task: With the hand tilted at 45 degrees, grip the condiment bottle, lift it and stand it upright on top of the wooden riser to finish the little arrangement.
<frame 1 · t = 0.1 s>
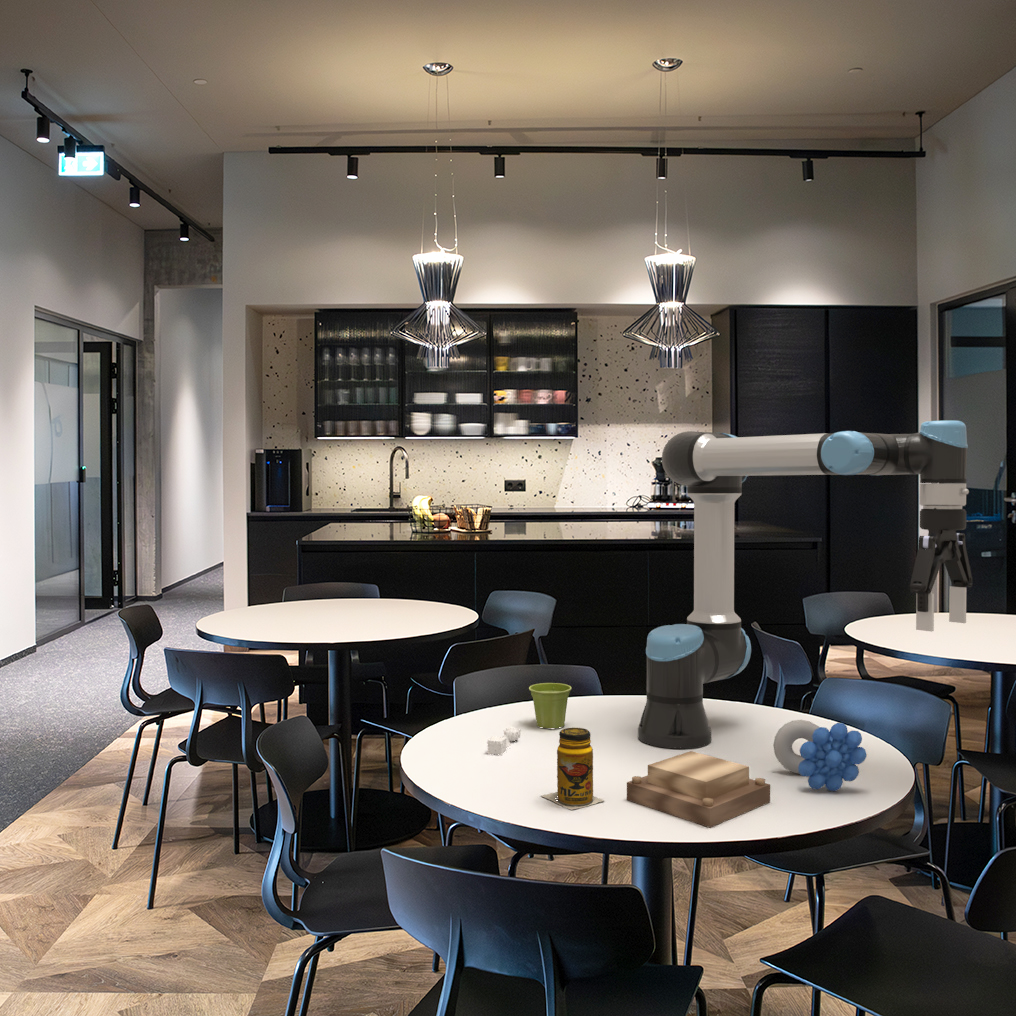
hand: (941, 626, 164), 28 cm above the table, tool pointing down, fingers open, 13 cm apart
plant pot: (550, 727, 203), on the table
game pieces: (504, 749, 187), on the table
wooden riser: (698, 800, 155), on the table
condiment: (572, 800, 156), on the table
grapes: (830, 790, 160), on the table
donut: (801, 774, 169), on the table
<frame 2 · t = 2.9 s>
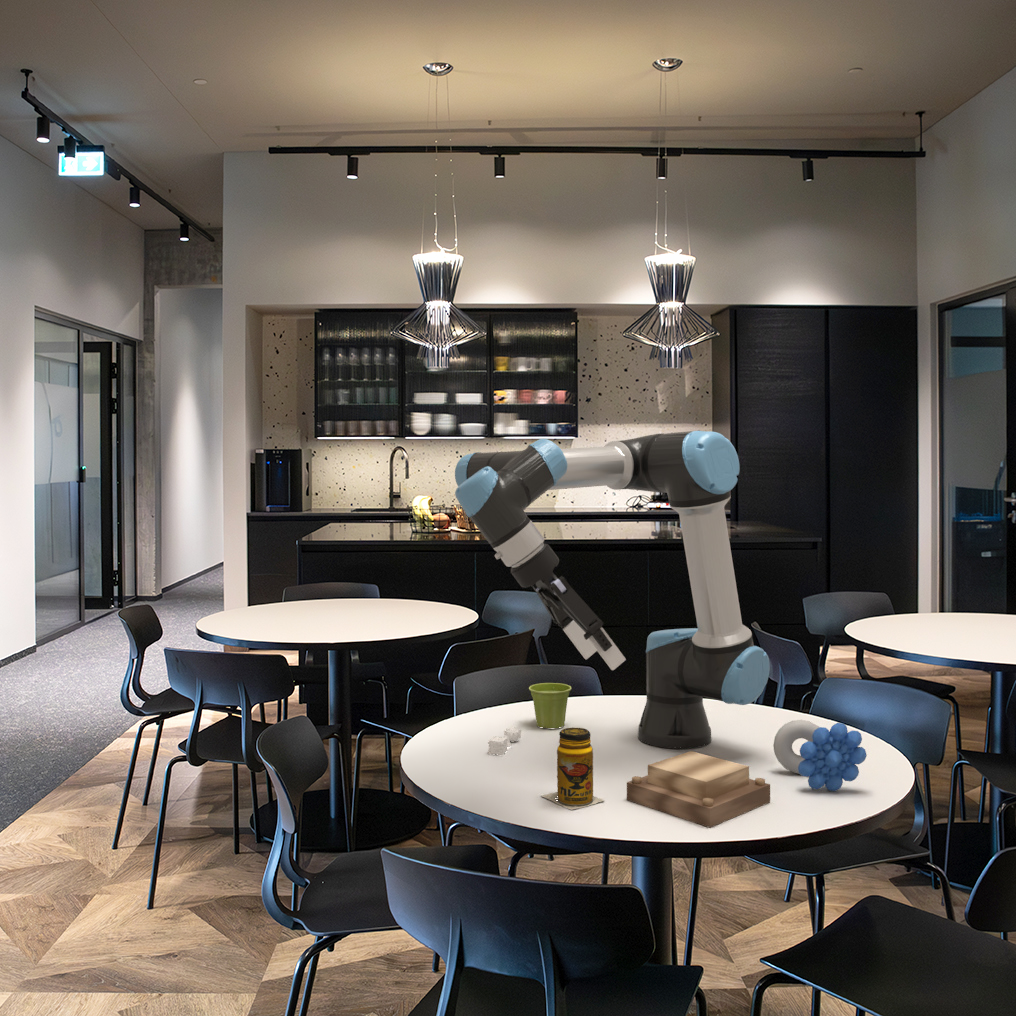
hand: (604, 659, 148), 25 cm above the table, tool tilted 35°, fingers open, 13 cm apart
nothing on the table moved.
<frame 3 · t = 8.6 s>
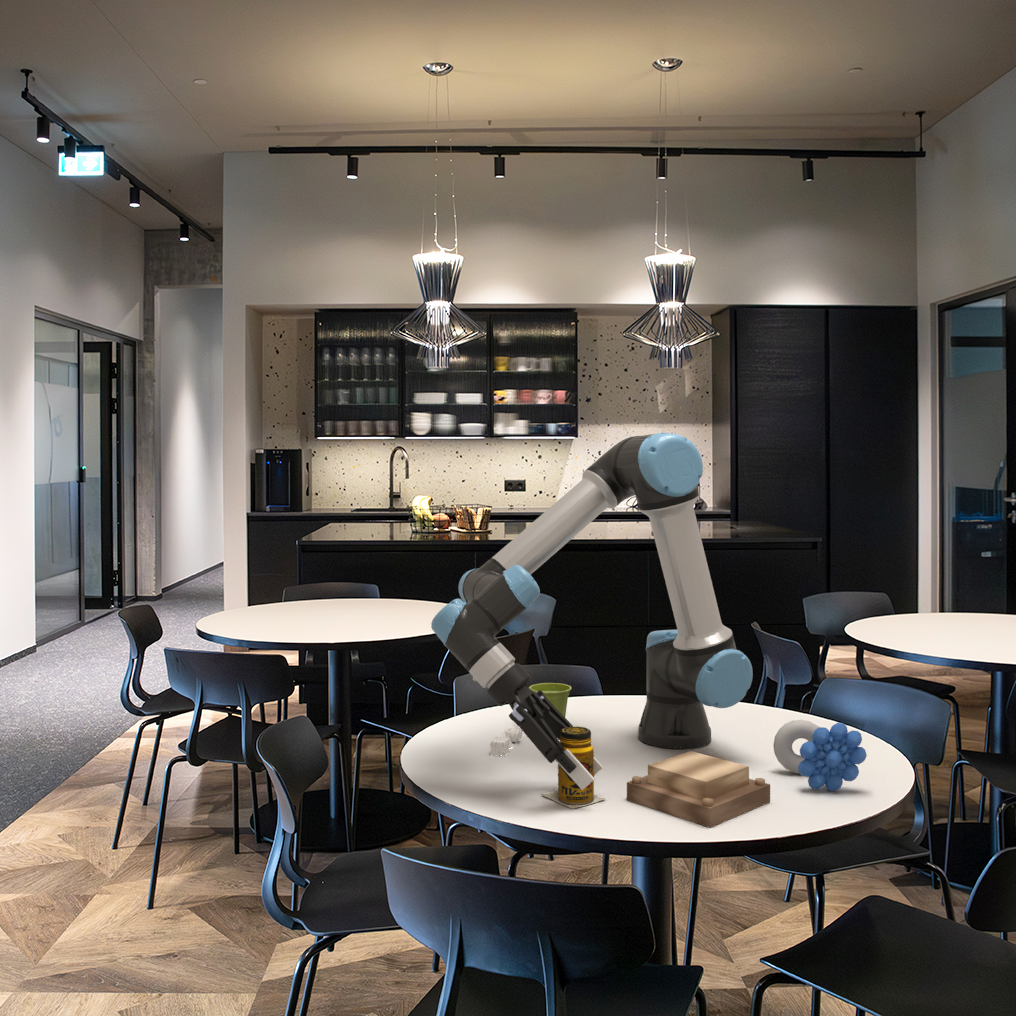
hand: (592, 778, 154), 4 cm above the table, tool tilted 45°, fingers closed on condiment, 6 cm apart
condiment: (573, 799, 156), on the table, touching gripper
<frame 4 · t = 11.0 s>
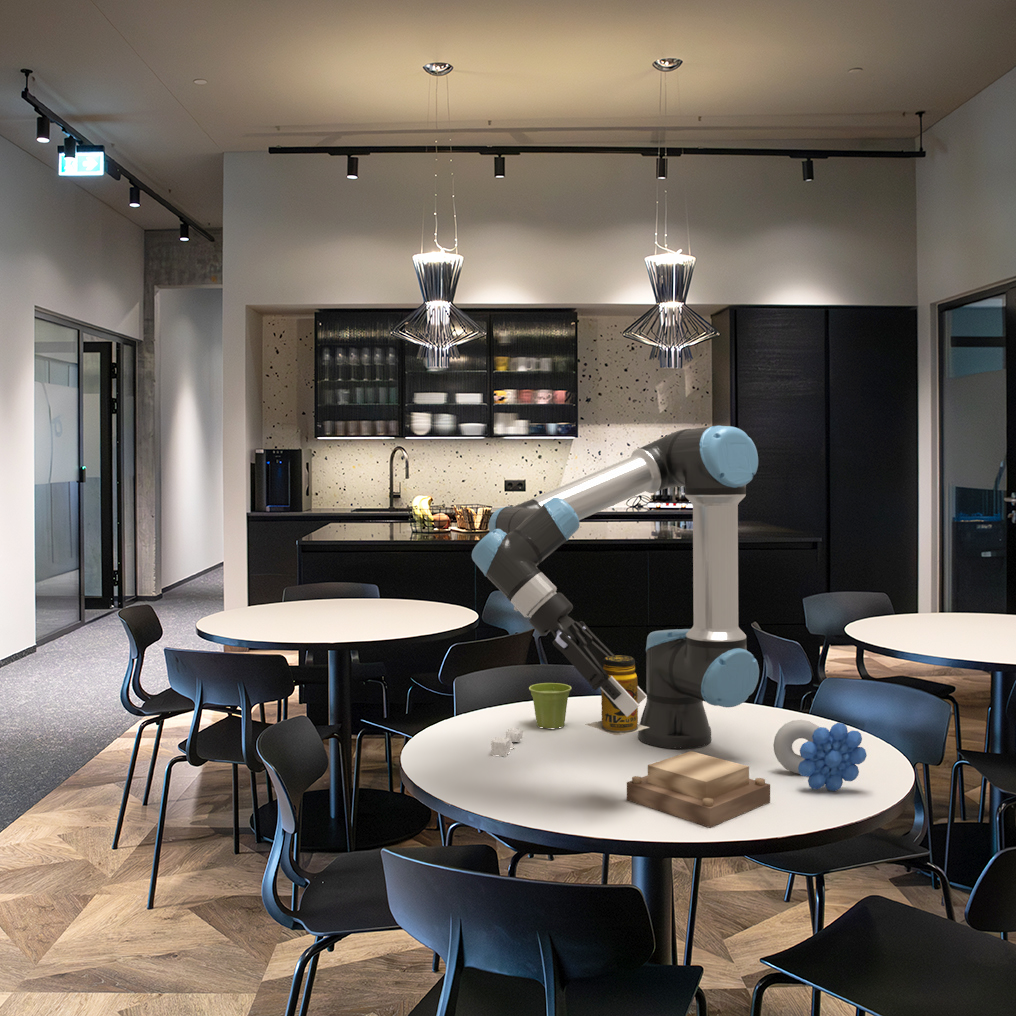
hand: (637, 706, 153), 17 cm above the table, tool tilted 45°, fingers closed on condiment, 6 cm apart
condiment: (616, 728, 155), point 12 cm above the table, touching gripper
when the fingers open (11 cm above the table, at t = 13.3 s): condiment drops 1 cm, resting on wooden riser.
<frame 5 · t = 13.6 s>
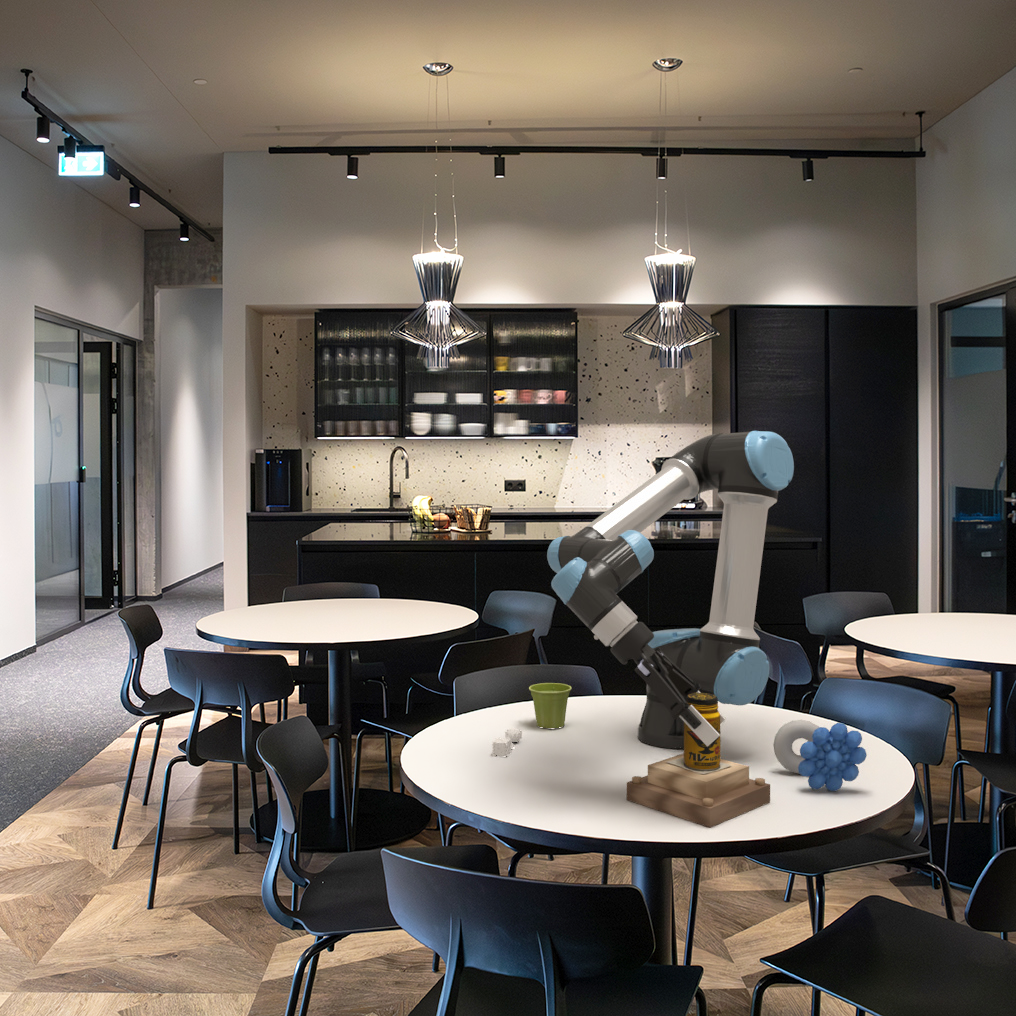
hand: (716, 732, 153), 12 cm above the table, tool tilted 45°, fingers open, 10 cm apart
condiment: (698, 766, 155), point 6 cm above the table, touching wooden riser
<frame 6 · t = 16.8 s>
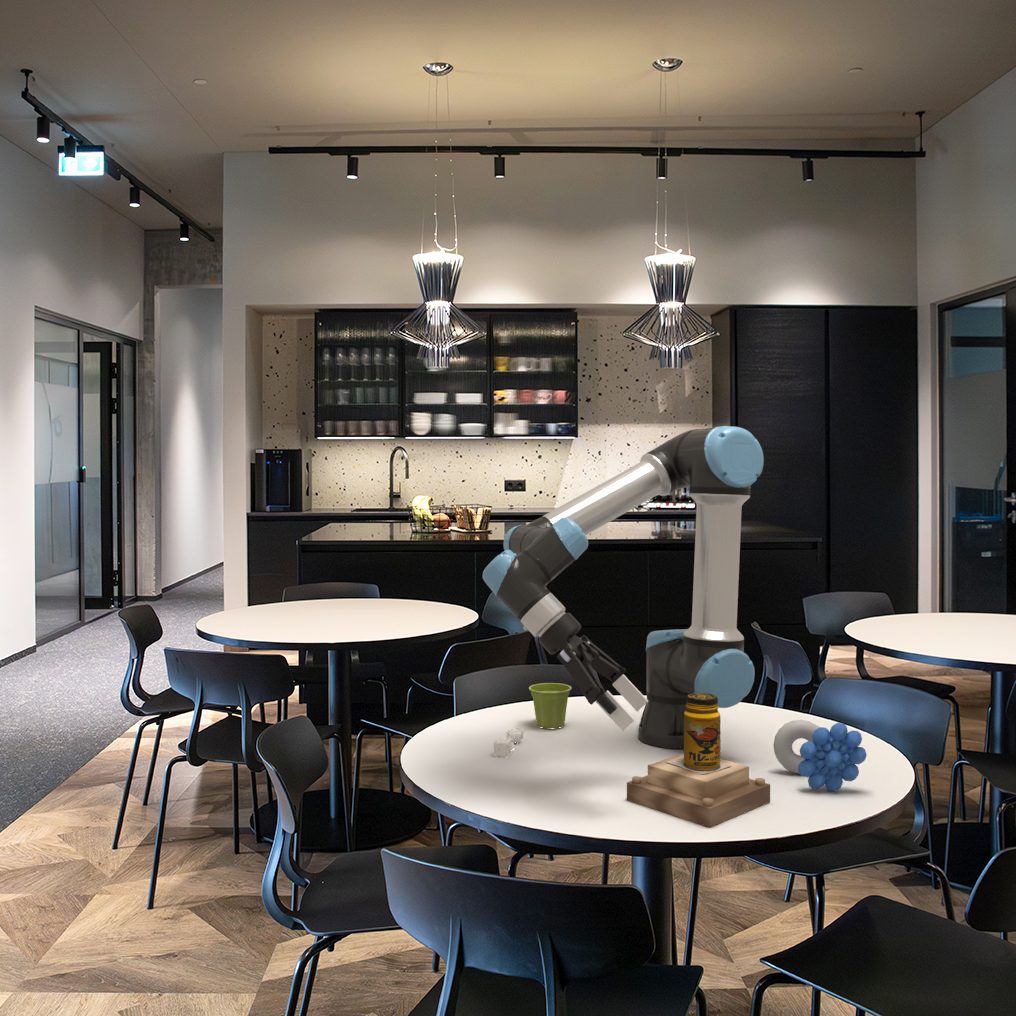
hand: (636, 715, 158), 14 cm above the table, tool tilted 45°, fingers open, 13 cm apart
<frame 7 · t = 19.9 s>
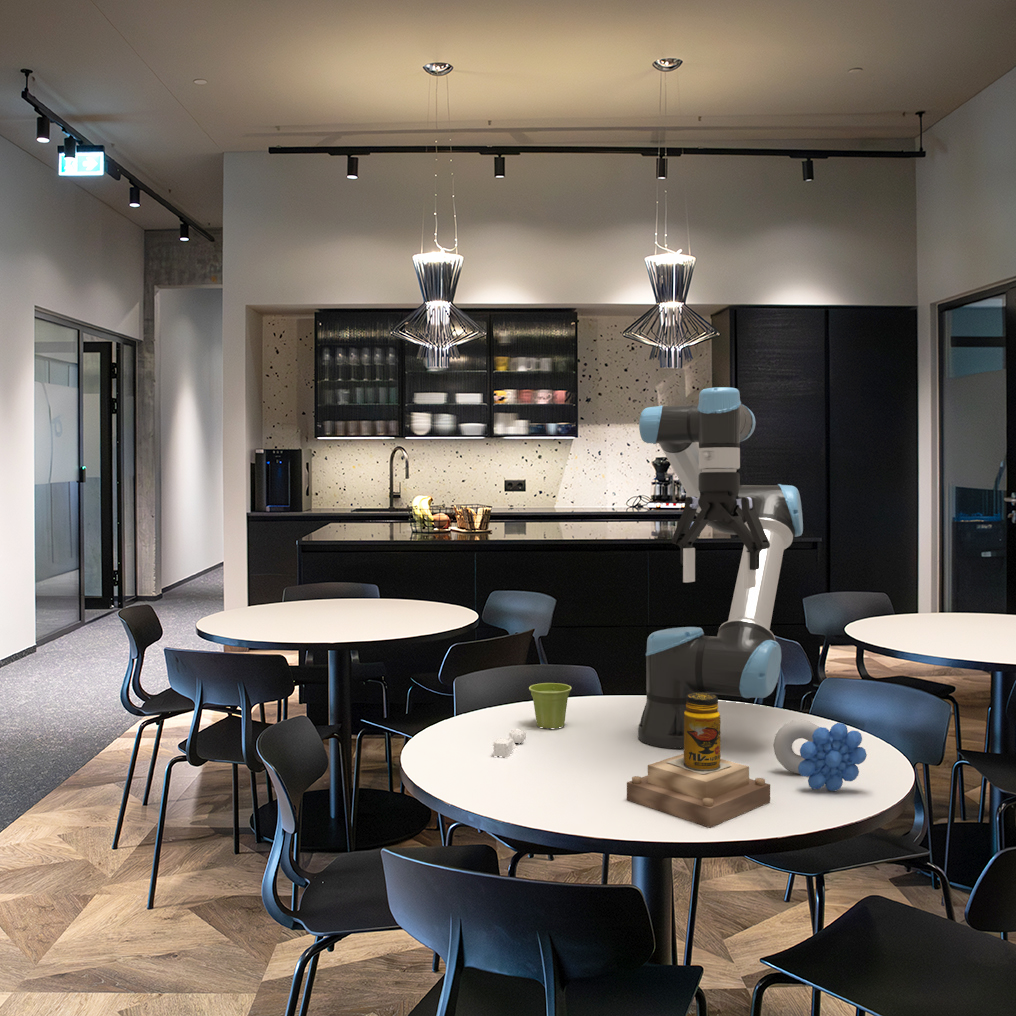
hand: (718, 584, 171), 35 cm above the table, tool pointing down, fingers open, 13 cm apart
at the end: condiment inside the target area on the wooden riser (0.6 cm from its centre), point 5.8 cm above the wooden riser's base; condiment tilted 0°; the gripper is holding nothing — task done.
